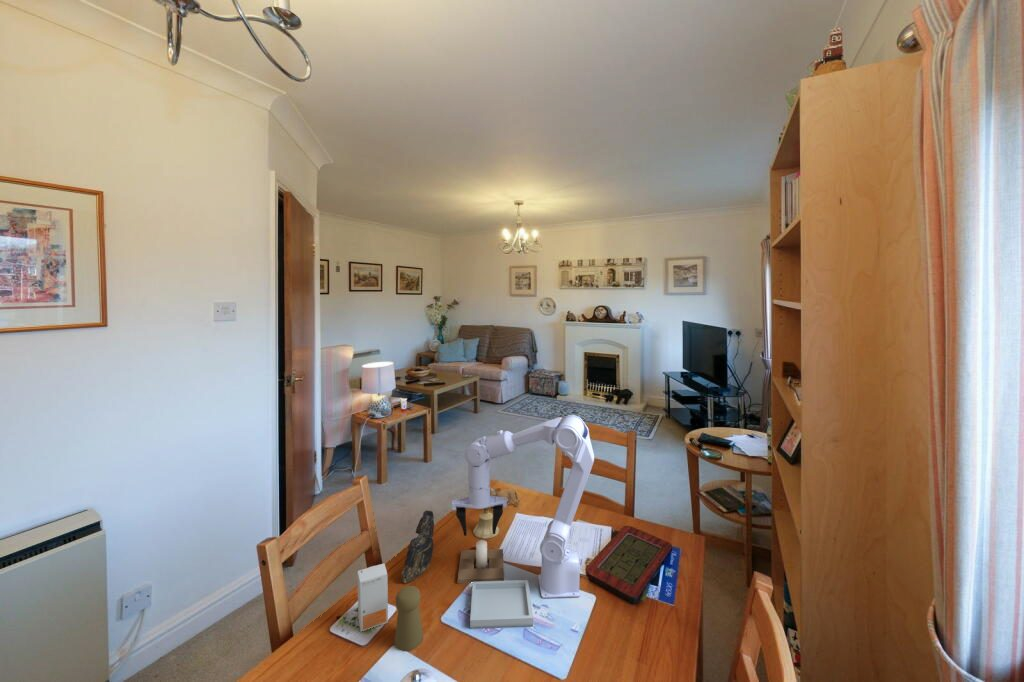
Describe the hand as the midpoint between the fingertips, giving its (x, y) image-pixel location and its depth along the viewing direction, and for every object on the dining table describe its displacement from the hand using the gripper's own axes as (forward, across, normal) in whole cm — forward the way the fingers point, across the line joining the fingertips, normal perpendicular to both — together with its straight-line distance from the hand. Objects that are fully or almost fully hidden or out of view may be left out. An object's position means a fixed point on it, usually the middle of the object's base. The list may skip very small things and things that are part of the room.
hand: (479, 532), depth 105 cm
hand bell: (+11, -2, -17) cm, 21 cm away
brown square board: (+10, 0, 0) cm, 10 cm away
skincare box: (+10, +24, +15) cm, 31 cm away
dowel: (+10, 0, 0) cm, 10 cm away
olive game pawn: (+10, +16, +21) cm, 28 cm away
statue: (+10, +16, -1) cm, 19 cm away
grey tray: (+10, -5, +14) cm, 18 cm away
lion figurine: (+11, -9, -30) cm, 33 cm away
